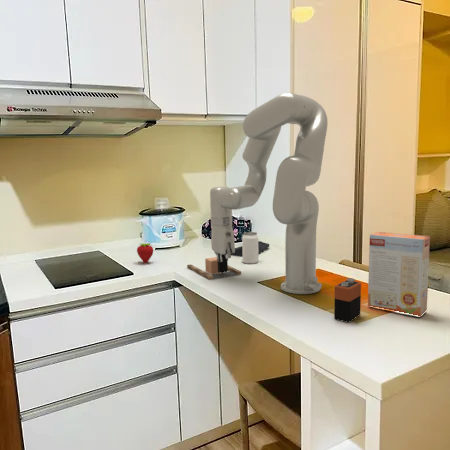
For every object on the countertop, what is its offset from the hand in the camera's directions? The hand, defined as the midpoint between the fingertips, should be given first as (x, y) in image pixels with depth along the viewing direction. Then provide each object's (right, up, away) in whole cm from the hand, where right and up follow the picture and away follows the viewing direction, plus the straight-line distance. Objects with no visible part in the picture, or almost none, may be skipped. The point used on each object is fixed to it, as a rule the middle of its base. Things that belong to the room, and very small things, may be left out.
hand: (222, 271), depth 152 cm
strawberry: (-32, +1, +23) cm, 39 cm away
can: (+11, +2, +19) cm, 22 cm away
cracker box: (+48, -6, -38) cm, 61 cm away
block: (-3, -1, +6) cm, 7 cm away
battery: (+33, -8, -42) cm, 54 cm away
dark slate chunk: (+12, +4, +40) cm, 42 cm away
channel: (-4, -1, +7) cm, 8 cm away
